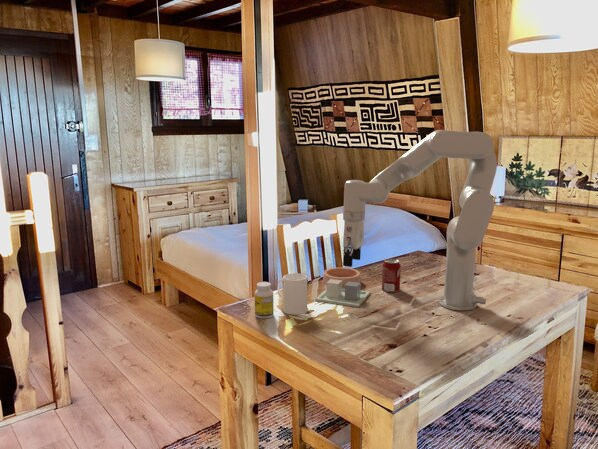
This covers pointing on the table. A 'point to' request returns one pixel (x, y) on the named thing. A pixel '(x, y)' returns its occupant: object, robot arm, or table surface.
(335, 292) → the beige block
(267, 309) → the pill bottle
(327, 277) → the bowl
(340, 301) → the parts tray
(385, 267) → the soda can
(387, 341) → the table surface
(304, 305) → the mug
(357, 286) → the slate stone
